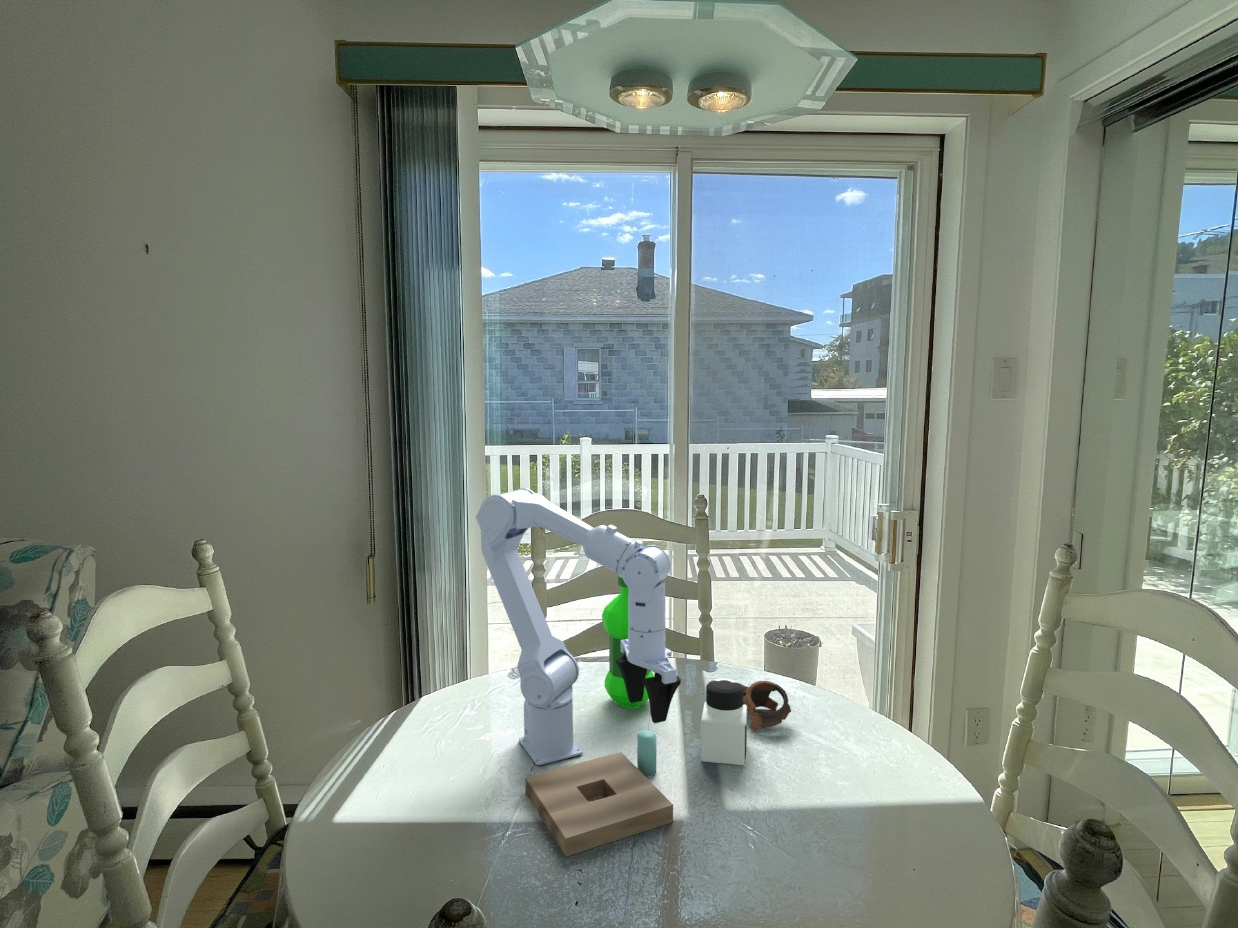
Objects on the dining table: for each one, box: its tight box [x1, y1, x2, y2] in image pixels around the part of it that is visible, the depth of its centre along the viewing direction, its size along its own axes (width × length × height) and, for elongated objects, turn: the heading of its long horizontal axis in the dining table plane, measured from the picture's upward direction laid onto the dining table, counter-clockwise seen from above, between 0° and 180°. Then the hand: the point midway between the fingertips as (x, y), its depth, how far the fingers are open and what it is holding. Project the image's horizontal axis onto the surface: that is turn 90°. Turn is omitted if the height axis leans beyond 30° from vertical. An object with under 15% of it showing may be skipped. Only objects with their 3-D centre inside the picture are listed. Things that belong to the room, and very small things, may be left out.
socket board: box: [524, 751, 674, 857], centre depth 99 cm, size 16×16×2 cm
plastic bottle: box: [601, 574, 655, 709], centre depth 132 cm, size 10×10×25 cm
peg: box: [636, 729, 657, 778], centre depth 108 cm, size 3×3×6 cm
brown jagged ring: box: [740, 680, 792, 732], centre depth 125 cm, size 12×10×8 cm
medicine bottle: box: [700, 678, 748, 767], centre depth 113 cm, size 7×7×12 cm
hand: (647, 710), depth 108 cm, fingers open, 7 cm apart
